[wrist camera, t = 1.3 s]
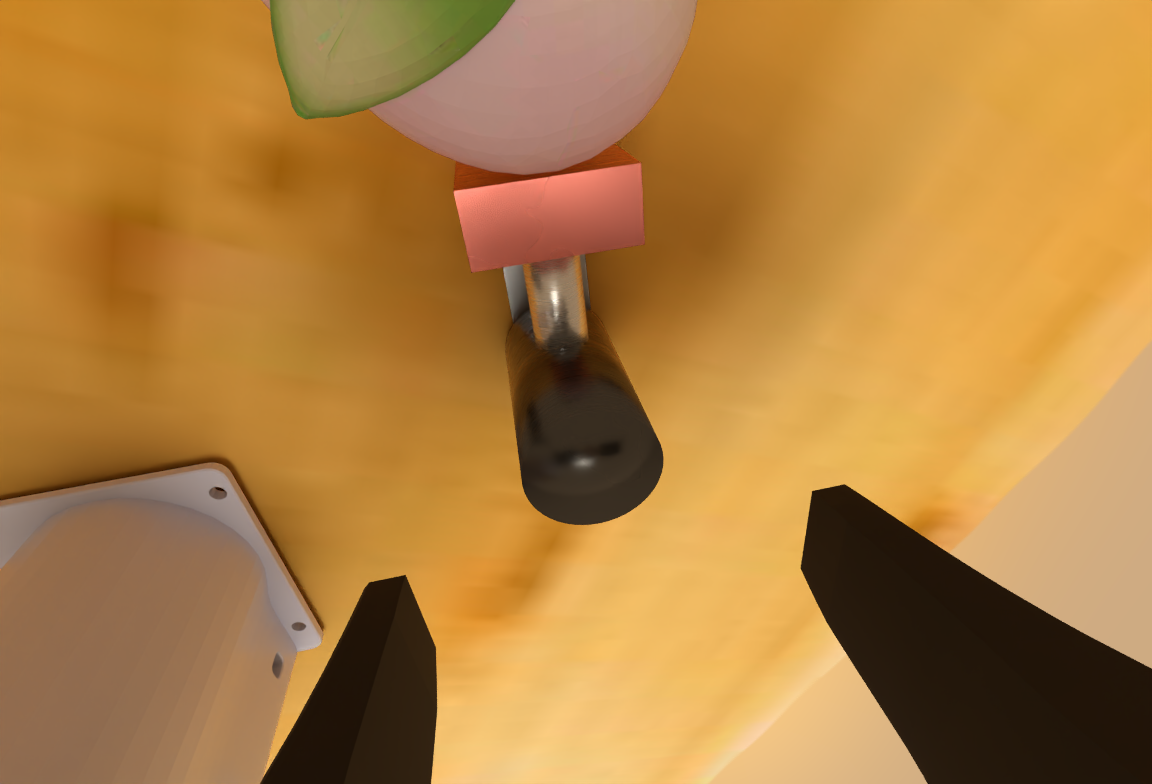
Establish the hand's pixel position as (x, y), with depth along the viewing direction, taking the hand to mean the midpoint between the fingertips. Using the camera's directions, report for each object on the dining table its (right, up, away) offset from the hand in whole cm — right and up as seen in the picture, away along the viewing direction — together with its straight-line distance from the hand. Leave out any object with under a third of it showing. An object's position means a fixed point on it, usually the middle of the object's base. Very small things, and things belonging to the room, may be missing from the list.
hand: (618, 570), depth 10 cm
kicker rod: (-2, +6, +6) cm, 9 cm away
